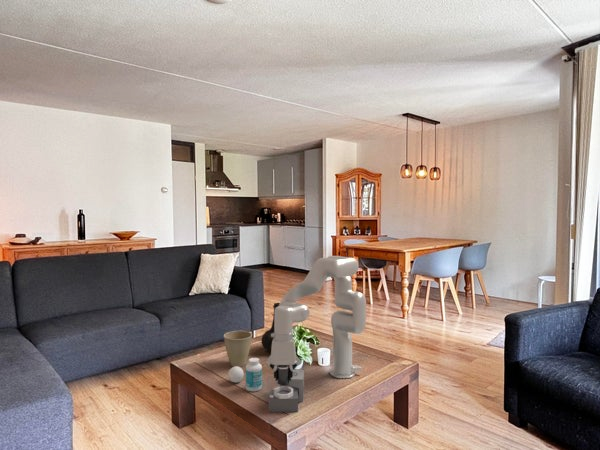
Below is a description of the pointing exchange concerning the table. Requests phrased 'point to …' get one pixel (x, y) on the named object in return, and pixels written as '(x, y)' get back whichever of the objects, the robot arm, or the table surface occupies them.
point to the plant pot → (238, 346)
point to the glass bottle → (269, 334)
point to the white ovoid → (236, 374)
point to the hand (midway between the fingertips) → (283, 378)
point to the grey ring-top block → (283, 399)
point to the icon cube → (297, 383)
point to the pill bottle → (253, 375)
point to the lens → (283, 374)
